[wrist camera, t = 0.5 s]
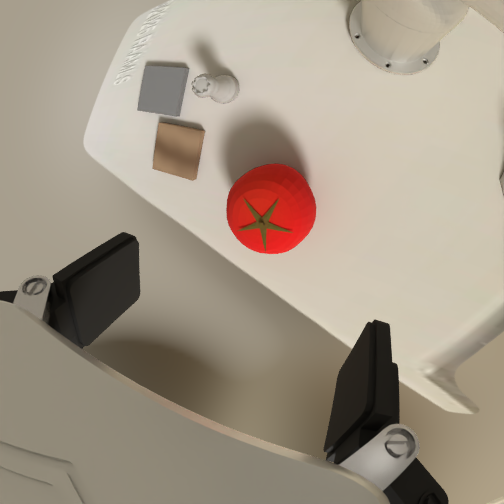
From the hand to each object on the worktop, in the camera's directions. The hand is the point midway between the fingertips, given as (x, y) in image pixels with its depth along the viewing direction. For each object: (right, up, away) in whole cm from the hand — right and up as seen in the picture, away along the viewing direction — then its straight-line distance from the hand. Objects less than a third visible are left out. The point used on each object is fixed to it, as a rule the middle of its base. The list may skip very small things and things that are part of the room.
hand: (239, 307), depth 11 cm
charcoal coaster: (-14, +28, +30) cm, 43 cm away
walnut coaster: (-11, +18, +34) cm, 40 cm away
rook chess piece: (-3, +26, +27) cm, 38 cm away
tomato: (+5, +10, +32) cm, 34 cm away
